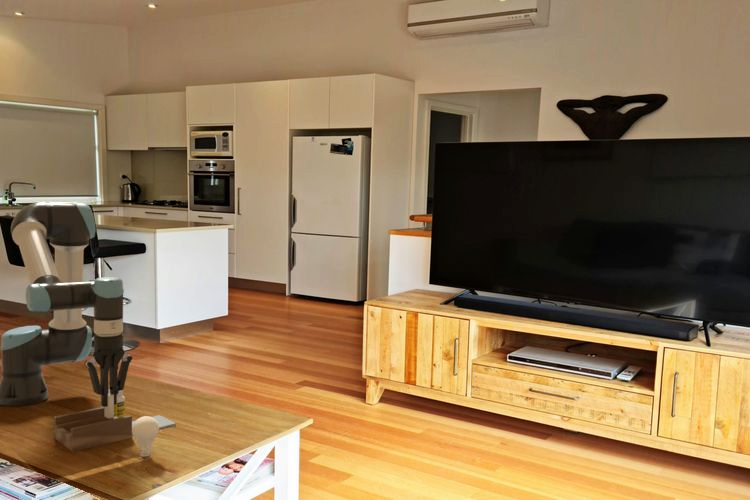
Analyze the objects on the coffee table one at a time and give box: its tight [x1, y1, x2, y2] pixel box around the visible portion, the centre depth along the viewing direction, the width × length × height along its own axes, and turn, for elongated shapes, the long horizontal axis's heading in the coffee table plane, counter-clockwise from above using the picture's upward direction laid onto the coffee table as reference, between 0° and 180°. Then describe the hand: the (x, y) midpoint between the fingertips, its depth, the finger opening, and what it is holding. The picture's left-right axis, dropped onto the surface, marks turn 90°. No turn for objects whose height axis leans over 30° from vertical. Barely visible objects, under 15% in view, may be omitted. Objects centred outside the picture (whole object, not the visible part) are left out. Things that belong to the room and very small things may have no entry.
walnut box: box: [53, 406, 133, 453], centre depth 187 cm, size 13×16×7 cm
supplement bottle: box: [108, 388, 126, 418], centre depth 203 cm, size 5×5×10 cm
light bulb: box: [132, 415, 160, 459], centre depth 177 cm, size 7×7×11 cm
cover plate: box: [132, 415, 177, 437], centre depth 198 cm, size 10×14×2 cm
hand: (109, 416), depth 190 cm, fingers closed
